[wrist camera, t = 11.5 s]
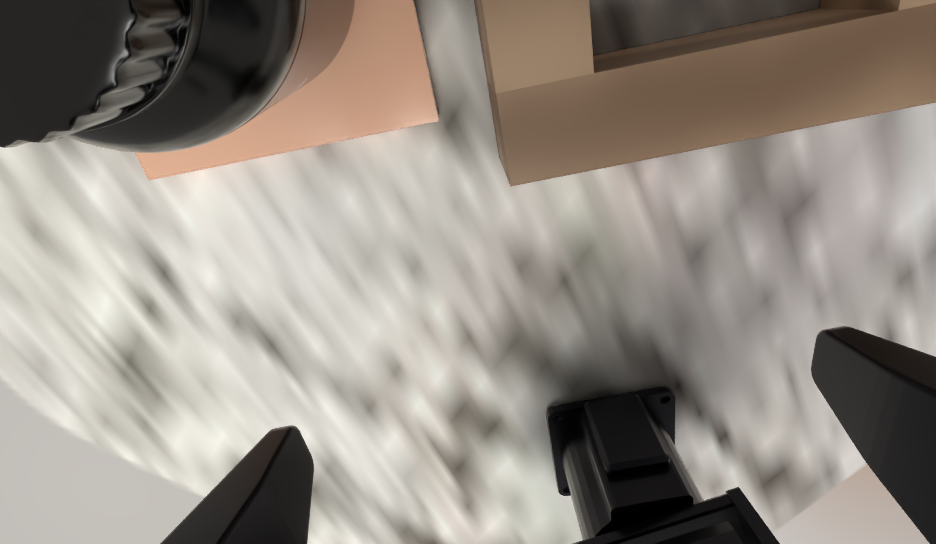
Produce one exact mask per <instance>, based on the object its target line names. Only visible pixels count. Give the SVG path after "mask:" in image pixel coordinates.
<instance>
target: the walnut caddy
mask: <svg viewBox="0 0 936 544" xmlns="http://www.w3.org/2000/svg"><path fill="white" fill-rule="evenodd" d="M474 3H475V9H476V16H477V22H478V28H479V34H480V40H481V46H482V53H483V59H484V65H485V71H486V77H487V84H488V90H489V96H490V102H491V108H492V115H493V121H494V127H495V133H496V139H497V145H498V152H499V158H500V160H501V163H502V165H503V168H504V171H505V173H506V176H507V179H508V181H509V184H510V186H515V185H520V184H525V183H530V182H535V181H540V180H545V179H550V178H555V177H560V176H566V175H571V174H576V173H581V172H586V171H591V170H596V169H601V168H606V167H611V166H616V165H621V164H626V163H631V162H636V161H641V160H646V159H651V158H657V157H662V156H667V155H672V154H677V153H682V152H687V151H692V150H697V149H702V148H707V147H712V146H717V145H722V144H727V143H732V142H737V141H742V140H748V139H753V138H758V137H763V136H768V135H773V134H778V133H783V132H788V131H793V130H798V129H803V128H808V127H813V126H818V125H823V124H828V123H833V122H839V121H844V120H849V119H854V118H859V117H864V116H869V115H874V114H879V113H884V112H889V111H894V110H899V109H904V108H909V107H914V106H919V105H925V104H930V103H935V102H936V0H821V2H820V9H815V10H810V11H805V12H801V13H796V14H791V15H786V16H781V17H777V18H772V19H767V20H762V21H757V22H753V23H748V24H743V25H738V26H733V27H728V28H724V29H719V30H714V31H709V32H704V33H700V34H695V35H690V36H685V37H680V38H676V39H671V40H666V41H661V42H656V43H651V44H647V45H642V46H637V47H632V48H627V49H623V50H618V51H613V52H608V53H603V54H599V55H594V56H593V50H592V35H591V19H590V4H589V0H474Z"/></svg>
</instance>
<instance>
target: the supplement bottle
mask: <svg viewBox="0 0 936 544" xmlns="http://www.w3.org/2000/svg"><path fill="white" fill-rule="evenodd" d="M354 4H355V0H0V147H4V148H5V147H15V146H19V145H22V144H25V143H28V142H50V141H53V140H56V139H59V138H62V137H65V136H66V137H69V138H72V139H75V140H77V141H80V142H83V143H87V144H91V145H95V146H98V147H102V148H108V149H113V150H119V151H126V152H137V153H161V152H172V151H179V150H184V149H189V148H193V147H197V146H200V145H203V144H206V143H209V142H211V141H213V140H216V139H218V138H220V137H223V136H225V135H227V134H229V133H231V132H233V131H234V130H236V129H238V128H240V127H241V126H243V125H245V124H246V123H248V122H249V121H251V120H253V119H254V118H256V117H257V116H259V115H260V114H262V113H263V112H265V111H266V110H268V109H269V108H271V107H272V106H274V105H275V104H277V103H279V102H280V101H282V100H283V99H285V98H286V97H288V96H289V95H291V94H292V93H294V92H295V91H297V90H298V89H300V88H301V87H303V86H305V85H306V84H307V83H309V82H310V81H311V80H313V79H314V78H315V77H317V76H318V75H319V74H320V73H321V72H322V71H324V70H325V69H326V68H327V67H328V65H329V64H330V63H331V62H332V61H333V60H334V58H335V57H336V55H337V54H338V52H339V51H340V49H341V47H342V45H343V43H344V41H345V39H346V37H347V34H348V32H349V28H350V25H351V22H352V17H353V12H354Z"/></svg>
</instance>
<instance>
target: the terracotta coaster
mask: <svg viewBox="0 0 936 544" xmlns="http://www.w3.org/2000/svg"><path fill="white" fill-rule="evenodd" d="M436 121H439V115H438V111H437V106H436V101H435V97H434V92H433V87H432V82H431V78H430V73H429V68H428V64H427V59H426V54H425V49H424V45H423V40H422V35H421V30H420V26H419V21H418V16H417V12H416V7H415V2H414V0H355V4H354V12H353V17H352V22H351V25H350V28H349V32H348V34H347V37H346V39H345V41H344V43H343V45H342V47H341V49H340V51H339V52H338V54H337V55H336V57H335V58H334V60H333V61H332V62H331V63H330V64H329V65H328V67H327V68H326V69H325V70H324V71H322V72H321V73H320V74H319V75H318V76H317V77H315V78H314V79H313V80H311V81H310V82H309V83H307V84H306V85H305V86H303V87H301V88H300V89H298V90H297V91H295V92H294V93H292V94H291V95H289V96H288V97H286V98H285V99H283V100H282V101H280V102H279V103H277V104H275V105H274V106H272V107H271V108H269V109H268V110H266V111H265V112H263V113H262V114H260V115H259V116H257V117H256V118H254V119H253V120H251V121H249V122H248V123H246V124H245V125H243V126H241V127H240V128H238V129H236V130H234V131H233V132H231V133H229V134H227V135H225V136H223V137H220V138H218V139H216V140H213V141H211V142H209V143H206V144H203V145H200V146H197V147H193V148H189V149H184V150H179V151H172V152H161V153H137V152H135V154H136V156H137V158H138V160H139V162H140V164H141V166H142V168H143V170H144V172H145V174H146V176H147V178H148V180H153V179H158V178H162V177H167V176H172V175H177V174H182V173H187V172H192V171H197V170H201V169H206V168H211V167H216V166H221V165H226V164H231V163H236V162H241V161H245V160H250V159H255V158H260V157H265V156H270V155H275V154H280V153H284V152H289V151H294V150H299V149H304V148H309V147H314V146H319V145H324V144H328V143H333V142H338V141H343V140H348V139H353V138H358V137H363V136H367V135H372V134H377V133H382V132H387V131H392V130H397V129H402V128H406V127H411V126H416V125H421V124H426V123H431V122H436Z"/></svg>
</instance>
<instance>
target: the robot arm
mask: <svg viewBox="0 0 936 544" xmlns="http://www.w3.org/2000/svg"><path fill="white" fill-rule="evenodd" d="M811 373H812V377H813V380H814V382H815V384H816V385H817V387H818V388H819V390H820V392H821V393H822V395H823V396H824V398H825V399H826V401H827V402H828V404H829V406H830V407H831V409H832V410H833V412H834V413H835V415H836V417H837V418H838V420H839V421H840V423H841V424H842V426H843V428H844V429H845V431H846V432H847V434H848V435H849V437H850V438H851V440H852V442H853V443H854V445H855V446H856V448H857V449H858V451H859V452H860V454H861V455H862V457H863V458H864V460H865V461H866V463H867V464H868V465H869V467H870V468H871V469H872V471H873V472H874V473H875V474H876V476H877V477H878V478H879V480H880V481H881V482H882V483H883V485H884V486H885V487H886V488H887V490H888V491H889V492H890V494H891V495H892V496H893V497H894V498H895V500H896V501H897V503H898V504H899V505H900V506H901V507H902V509H903V510H904V511H905V513H906V514H907V515H908V516H909V518H910V519H911V520H912V521H913V523H914V524H915V525H916V527H917V528H918V529H919V530H920V532H921V533H922V534H923V535H924V537H925V538H926V539H927V541H928V542H929V543H930V544H936V357H935V356H932V355H929V354H926V353H923V352H920V351H917V350H914V349H912V348H909V347H906V346H903V345H900V344H897V343H894V342H892V341H889V340H886V339H883V338H880V337H877V336H874V335H871V334H869V333H866V332H863V331H860V330H857V329H854V328H851V327H847V326H843V327H837V328H831V329H825V330H822V331H820V332H819V334H818V335H817V338H816V343H815V348H814V354H813V360H812V366H811ZM664 396H666V397H664ZM662 397H664V398H662ZM556 415H559V416H557V417H554V416H556ZM546 417H547V423H548V430H549V436H550V443H551V449H552V455H553V462H554V468H555V475H556V481H557V487H558V491H559V493H560V494H561V495H563V496H570V495H571V497H572V500H573V504H574V508H575V512H576V515H577V519H578V523H579V527H580V530H581V534H582V538H583V540H582V541H579V542H576V543H573V544H780V543H779V542H778V541H777V540H776V538H775V536H774V535H773V534H772V532H771V531H770V530H769V528H768V527H767V525H766V524H765V523H764V521H763V520H762V519H761V517H760V516H759V514H758V513H757V512H756V510H755V509H754V508H753V506H752V505H751V503H750V502H749V501H748V499H747V498H746V497H745V495H744V494H743V492H742V491H741V490H740V488H739V487H737V488H734V489H731V490H728V491H726V494H723V495H720V496H717V497H714V498H711V499H708V500H705V501H703V499H702V497H701V495H700V493H699V491H698V489H697V487H696V485H695V483H694V482H693V480H692V478H691V476H690V474H689V472H688V470H687V468H686V466H685V465H684V463H683V461H682V459H681V457H680V455H679V453H678V451H677V449H676V447H675V396H674V394H673V392H672V391H671V389H669V388H667V387H660V388H654V389H649V390H643V391H637V392H632V393H626V394H620V395H615V396H609V397H604V398H598V399H592V400H587V401H581V402H575V403H570V404H564V405H558V406H554V407H551V408H550V409H548V411H547V412H546ZM313 474H314V464H313V459H312V456H311V454H310V452H309V449H308V447H307V445H306V443H305V441H304V439H303V437H302V435H301V433H300V431H299V429H298V428H297V427H296V426H286V427H280V428H275V429H272V430H271V431H269V432H268V433H267V434H266V435H265V436H264V437H263V438H262V439H261V440H260V441H259V442H258V443H257V445H256V446H255V447H254V448H253V449H252V450H251V451H250V452H249V453H248V454H247V455H246V456H245V457H244V458H243V459H242V460H241V461H240V462H239V463H238V464H237V465H236V466H235V467H234V468H233V469H232V470H231V471H230V472H229V473H228V474H227V475H226V477H225V478H224V479H223V480H222V481H221V482H220V483H219V484H218V485H217V486H216V487H215V488H214V489H213V490H212V491H211V492H210V493H209V494H208V495H207V496H206V497H205V498H204V499H203V500H202V501H201V502H200V504H198V505H197V507H196V508H195V509H194V510H193V511H192V512H191V513H190V514H189V515H188V516H187V517H186V518H185V519H184V520H183V521H182V522H181V523H180V524H179V525H178V526H177V527H176V528H175V529H174V530H173V531H172V532H171V533H170V534H169V535H168V536H167V537H166V539H165V540H164V541H163V542H162V543H161V544H307V540H308V529H309V518H310V507H311V496H312V485H313Z"/></svg>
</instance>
